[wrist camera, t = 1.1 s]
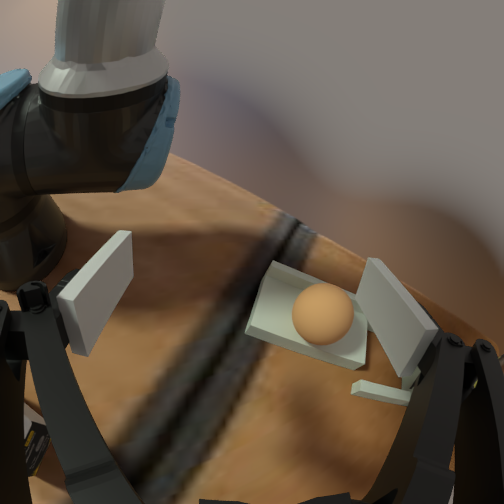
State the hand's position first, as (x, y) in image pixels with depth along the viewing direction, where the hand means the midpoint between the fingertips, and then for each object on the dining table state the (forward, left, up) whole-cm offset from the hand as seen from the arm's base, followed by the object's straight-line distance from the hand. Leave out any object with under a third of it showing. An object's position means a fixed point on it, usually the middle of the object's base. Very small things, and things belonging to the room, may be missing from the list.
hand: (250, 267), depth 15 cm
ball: (0, +13, -13) cm, 19 cm away
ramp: (+5, +19, -19) cm, 27 cm away
